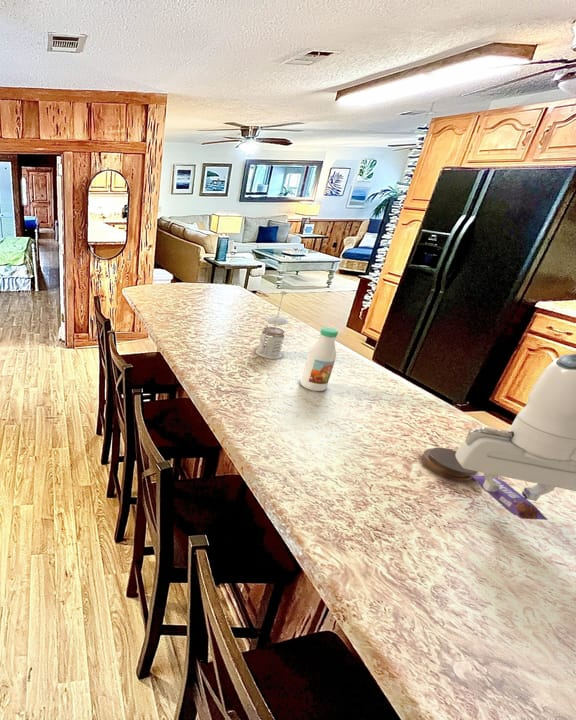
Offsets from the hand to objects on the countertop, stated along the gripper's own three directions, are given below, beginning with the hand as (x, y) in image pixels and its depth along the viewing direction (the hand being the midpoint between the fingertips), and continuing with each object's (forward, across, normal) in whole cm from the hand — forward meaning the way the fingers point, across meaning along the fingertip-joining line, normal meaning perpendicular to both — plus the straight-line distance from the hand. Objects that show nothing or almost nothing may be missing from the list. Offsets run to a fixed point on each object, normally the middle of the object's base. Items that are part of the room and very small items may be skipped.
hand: (508, 493), depth 77 cm
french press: (+6, -44, +67) cm, 80 cm away
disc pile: (+6, -4, +14) cm, 16 cm away
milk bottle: (+6, -30, +46) cm, 55 cm away
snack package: (+2, 0, 0) cm, 2 cm away
